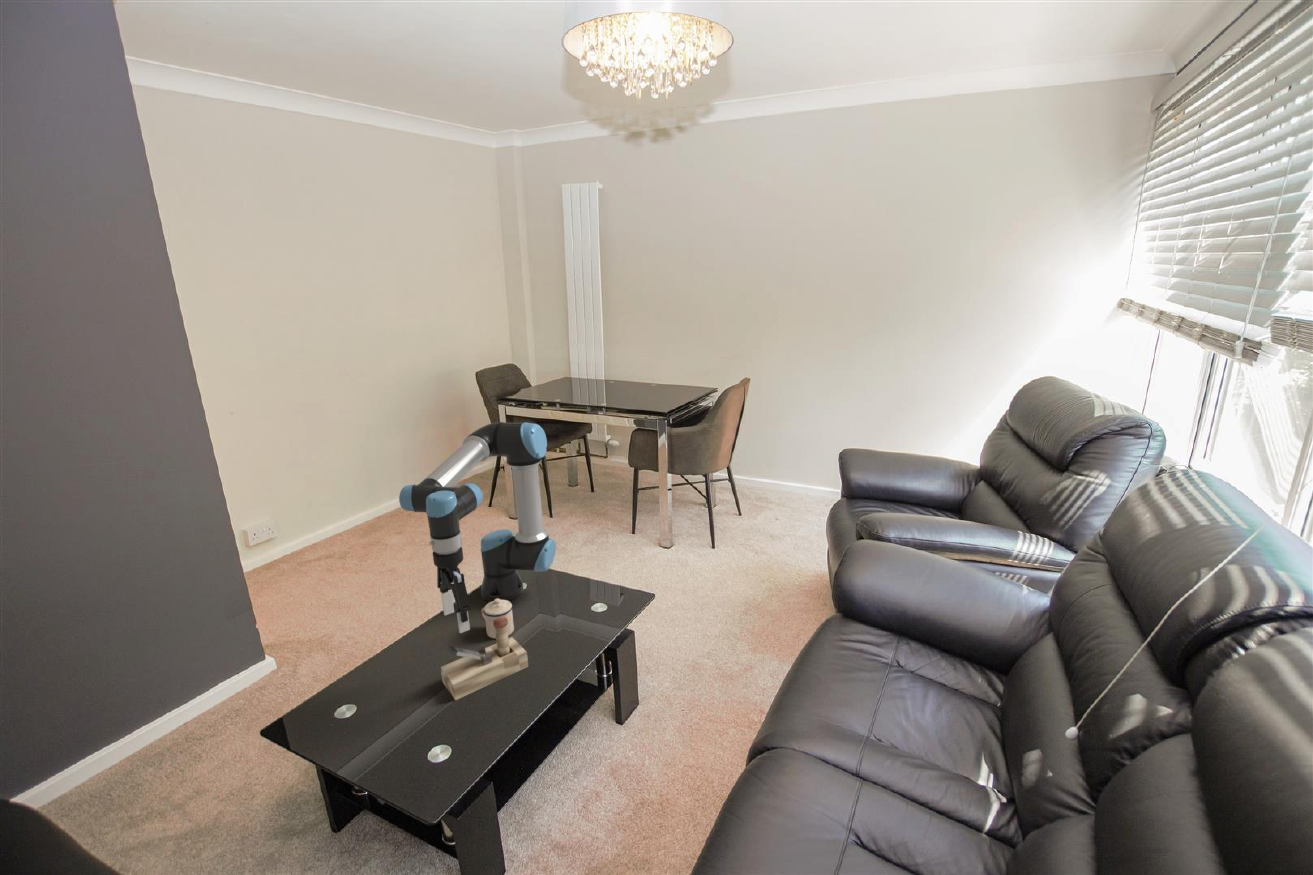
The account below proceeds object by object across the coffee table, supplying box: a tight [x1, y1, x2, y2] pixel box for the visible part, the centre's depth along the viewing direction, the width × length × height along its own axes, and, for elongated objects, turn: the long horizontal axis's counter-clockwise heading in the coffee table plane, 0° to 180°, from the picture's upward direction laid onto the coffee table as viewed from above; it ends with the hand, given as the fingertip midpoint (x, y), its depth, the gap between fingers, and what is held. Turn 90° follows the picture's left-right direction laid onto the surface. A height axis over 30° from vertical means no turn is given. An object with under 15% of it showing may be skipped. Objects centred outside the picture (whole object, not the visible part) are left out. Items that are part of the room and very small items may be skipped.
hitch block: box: [440, 636, 529, 701], centre depth 169 cm, size 10×22×7 cm, turn 129°
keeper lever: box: [446, 645, 486, 660], centre depth 165 cm, size 3×12×1 cm
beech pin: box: [493, 617, 510, 658], centre depth 172 cm, size 4×4×15 cm
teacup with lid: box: [481, 599, 515, 640], centre depth 190 cm, size 12×9×12 cm
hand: (456, 621), depth 161 cm, fingers open, 11 cm apart
